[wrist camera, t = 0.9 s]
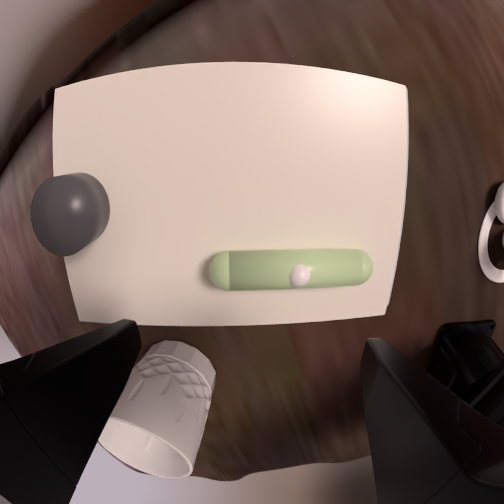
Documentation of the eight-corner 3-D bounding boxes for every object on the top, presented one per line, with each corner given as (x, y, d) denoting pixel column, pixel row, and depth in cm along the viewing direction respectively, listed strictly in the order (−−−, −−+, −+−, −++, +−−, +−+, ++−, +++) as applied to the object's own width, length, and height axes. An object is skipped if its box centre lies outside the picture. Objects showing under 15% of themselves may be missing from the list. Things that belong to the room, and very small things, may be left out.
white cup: (215, 335, 22) (174, 432, 13) (228, 400, 25) (203, 486, 15) (133, 330, 24) (72, 404, 14) (155, 391, 26) (116, 463, 17)
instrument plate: (396, 88, 12) (428, 79, 9) (377, 306, 16) (400, 332, 14) (60, 93, 11) (29, 84, 8) (82, 312, 15) (60, 339, 12)
